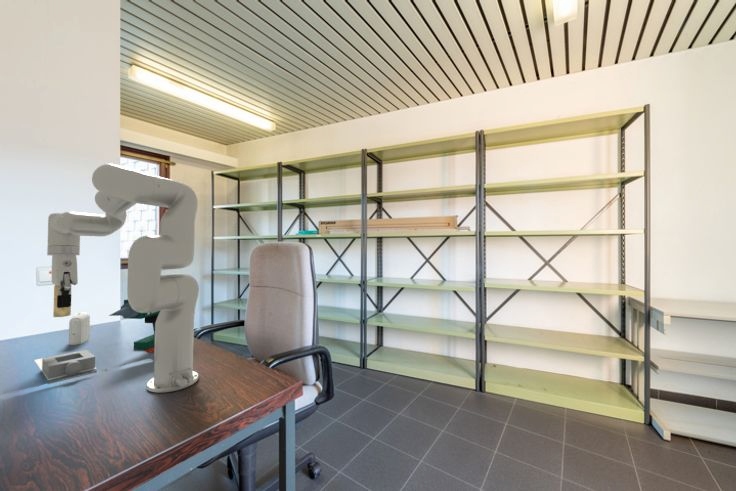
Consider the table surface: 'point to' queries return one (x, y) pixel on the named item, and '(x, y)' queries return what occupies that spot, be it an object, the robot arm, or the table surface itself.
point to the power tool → (151, 317)
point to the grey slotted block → (67, 365)
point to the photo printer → (79, 328)
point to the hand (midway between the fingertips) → (62, 305)
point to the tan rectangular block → (60, 311)
